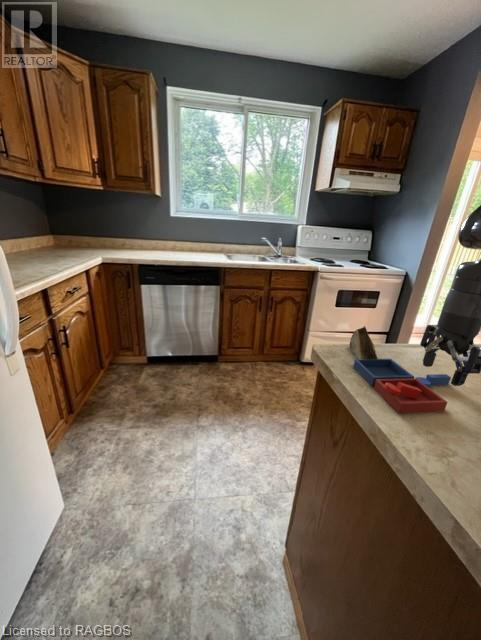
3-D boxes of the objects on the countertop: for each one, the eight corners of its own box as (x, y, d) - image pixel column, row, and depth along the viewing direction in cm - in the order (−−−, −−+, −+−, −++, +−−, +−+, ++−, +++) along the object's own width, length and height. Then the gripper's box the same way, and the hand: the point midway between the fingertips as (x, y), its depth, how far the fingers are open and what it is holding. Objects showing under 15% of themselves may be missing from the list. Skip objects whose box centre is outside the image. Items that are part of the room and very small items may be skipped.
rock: (341, 339, 84) (337, 345, 75) (363, 320, 80) (362, 324, 72) (367, 366, 81) (367, 375, 72) (391, 348, 78) (394, 355, 69)
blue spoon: (440, 379, 68) (443, 372, 67) (451, 387, 65) (454, 379, 64) (411, 380, 67) (413, 372, 66) (420, 388, 64) (423, 380, 63)
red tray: (413, 387, 64) (416, 378, 63) (444, 411, 56) (447, 402, 55) (373, 388, 63) (375, 379, 62) (398, 413, 55) (401, 403, 54)
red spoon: (409, 393, 61) (414, 385, 60) (419, 402, 58) (425, 393, 57) (380, 384, 59) (385, 376, 58) (389, 393, 56) (395, 384, 55)
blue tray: (388, 366, 73) (391, 358, 72) (411, 385, 65) (414, 376, 64) (353, 367, 72) (354, 359, 71) (371, 386, 63) (374, 377, 63)
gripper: (512, 322, 53) (482, 392, 59) (451, 302, 66) (431, 360, 72) (478, 322, 52) (451, 393, 58) (423, 301, 66) (406, 360, 71)
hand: (440, 374), depth 65 cm, fingers open, 8 cm apart
